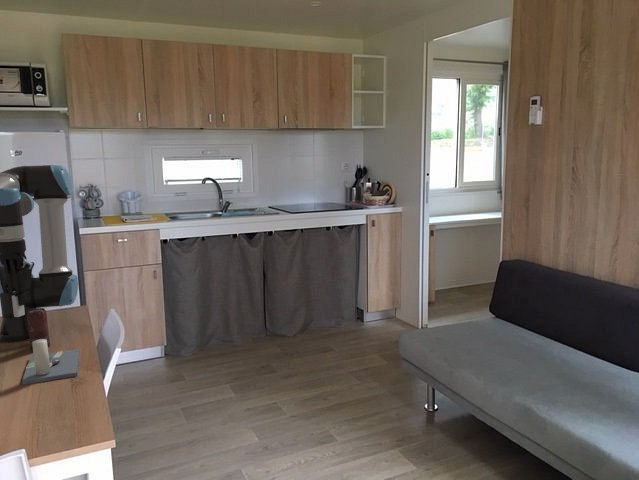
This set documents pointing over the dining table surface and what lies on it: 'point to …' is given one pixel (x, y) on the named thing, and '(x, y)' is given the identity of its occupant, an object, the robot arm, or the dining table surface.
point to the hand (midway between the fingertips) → (19, 315)
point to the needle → (43, 357)
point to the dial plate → (54, 368)
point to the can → (38, 325)
